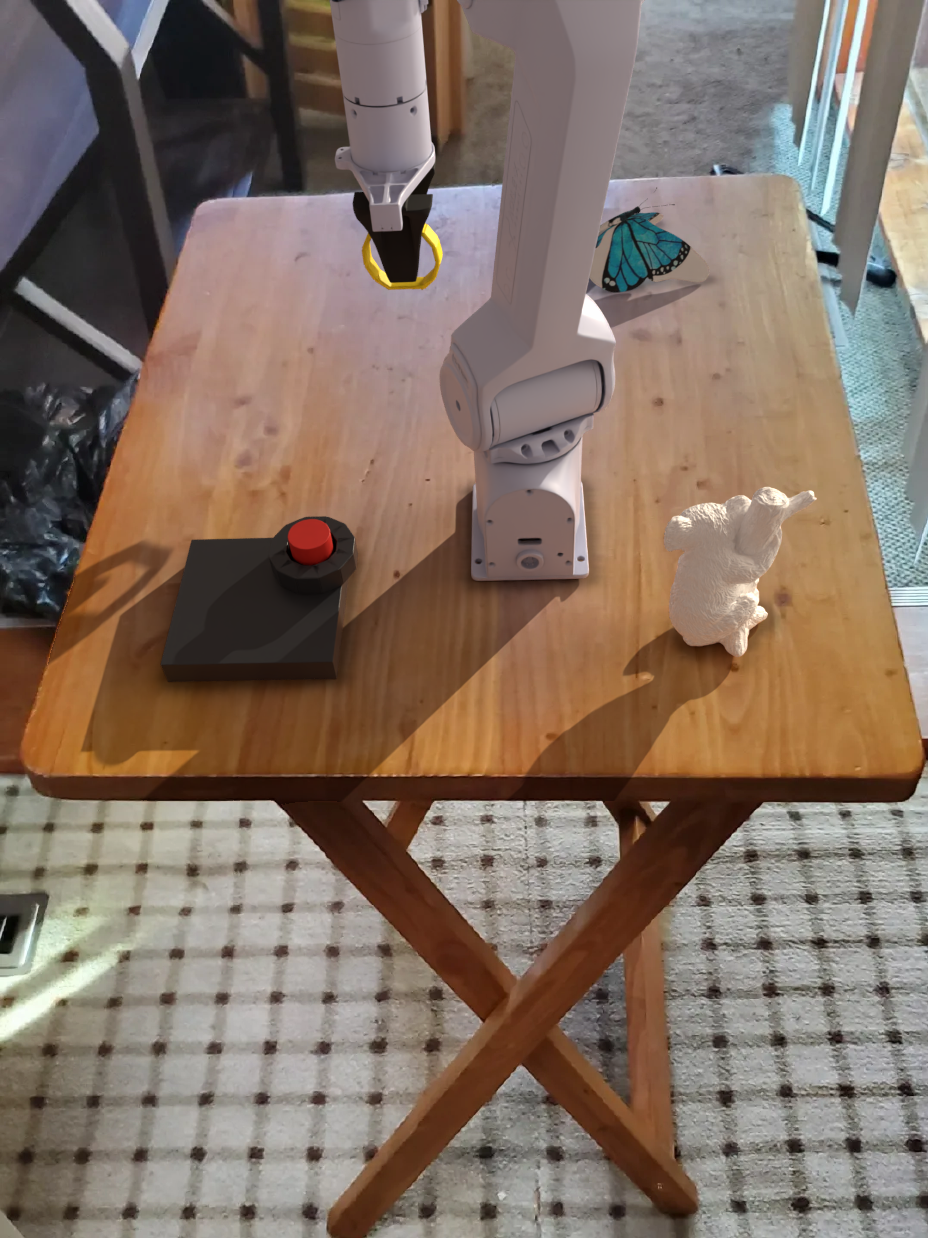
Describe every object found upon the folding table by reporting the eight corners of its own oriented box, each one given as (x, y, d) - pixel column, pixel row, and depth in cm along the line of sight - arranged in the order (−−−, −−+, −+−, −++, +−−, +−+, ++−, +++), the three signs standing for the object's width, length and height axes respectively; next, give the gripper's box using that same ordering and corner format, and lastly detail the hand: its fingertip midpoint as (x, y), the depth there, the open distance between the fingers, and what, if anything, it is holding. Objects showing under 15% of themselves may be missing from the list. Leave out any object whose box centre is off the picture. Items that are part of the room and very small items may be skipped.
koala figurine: (776, 590, 72) (810, 454, 62) (790, 671, 67) (830, 537, 58) (647, 590, 72) (663, 455, 63) (654, 670, 68) (672, 538, 59)
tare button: (331, 565, 71) (327, 548, 70) (289, 566, 71) (285, 549, 70) (335, 534, 73) (331, 518, 72) (294, 535, 73) (290, 519, 72)
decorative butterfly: (549, 211, 96) (651, 160, 96) (565, 269, 101) (661, 221, 101) (596, 268, 90) (704, 215, 90) (610, 327, 95) (712, 276, 95)
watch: (446, 277, 85) (441, 207, 80) (440, 298, 83) (434, 227, 78) (372, 274, 86) (362, 204, 81) (365, 295, 84) (354, 224, 79)
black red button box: (350, 679, 69) (342, 645, 66) (168, 682, 70) (153, 649, 67) (363, 550, 76) (357, 515, 73) (198, 554, 77) (186, 519, 74)
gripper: (336, 45, 77) (360, 220, 88) (313, 142, 68) (343, 325, 79) (434, 40, 77) (447, 217, 87) (424, 137, 68) (440, 322, 78)
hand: (404, 268), depth 83 cm, fingers closed on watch, 2 cm apart
